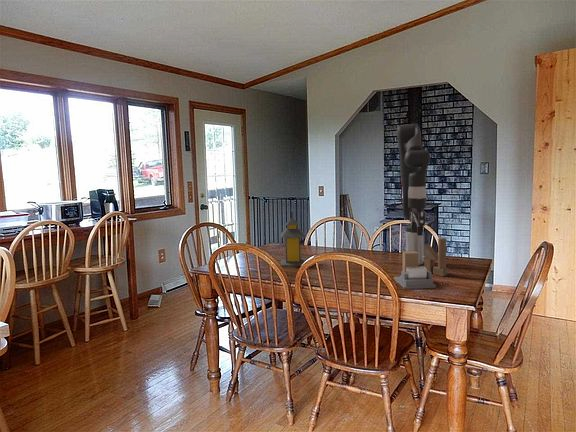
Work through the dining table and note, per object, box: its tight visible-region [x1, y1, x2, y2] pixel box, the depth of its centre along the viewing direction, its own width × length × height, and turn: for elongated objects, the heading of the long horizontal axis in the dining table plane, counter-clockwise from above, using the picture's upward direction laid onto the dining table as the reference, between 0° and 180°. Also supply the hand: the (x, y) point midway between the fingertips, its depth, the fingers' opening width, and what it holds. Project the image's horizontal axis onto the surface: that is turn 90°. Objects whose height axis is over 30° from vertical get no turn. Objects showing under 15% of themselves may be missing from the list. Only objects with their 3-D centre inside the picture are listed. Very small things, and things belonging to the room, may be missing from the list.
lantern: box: [279, 209, 307, 267], centre depth 245 cm, size 14×14×30 cm
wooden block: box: [423, 237, 449, 277], centre depth 214 cm, size 4×11×18 cm, turn 37°
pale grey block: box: [406, 265, 427, 279], centre depth 196 cm, size 4×8×7 cm, turn 91°
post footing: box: [393, 250, 437, 290], centre depth 200 cm, size 17×14×13 cm
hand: (416, 233), depth 194 cm, fingers open, 8 cm apart
